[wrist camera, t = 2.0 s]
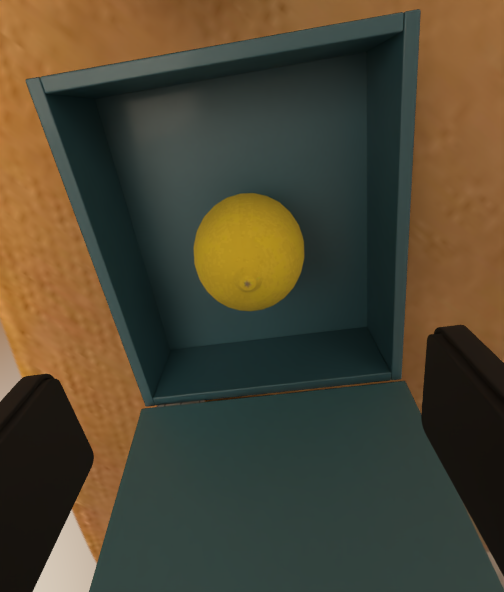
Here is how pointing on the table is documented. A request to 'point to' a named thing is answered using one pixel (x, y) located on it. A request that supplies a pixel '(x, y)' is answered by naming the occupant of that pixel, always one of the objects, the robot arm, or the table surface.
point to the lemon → (248, 252)
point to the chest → (247, 179)
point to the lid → (290, 500)
